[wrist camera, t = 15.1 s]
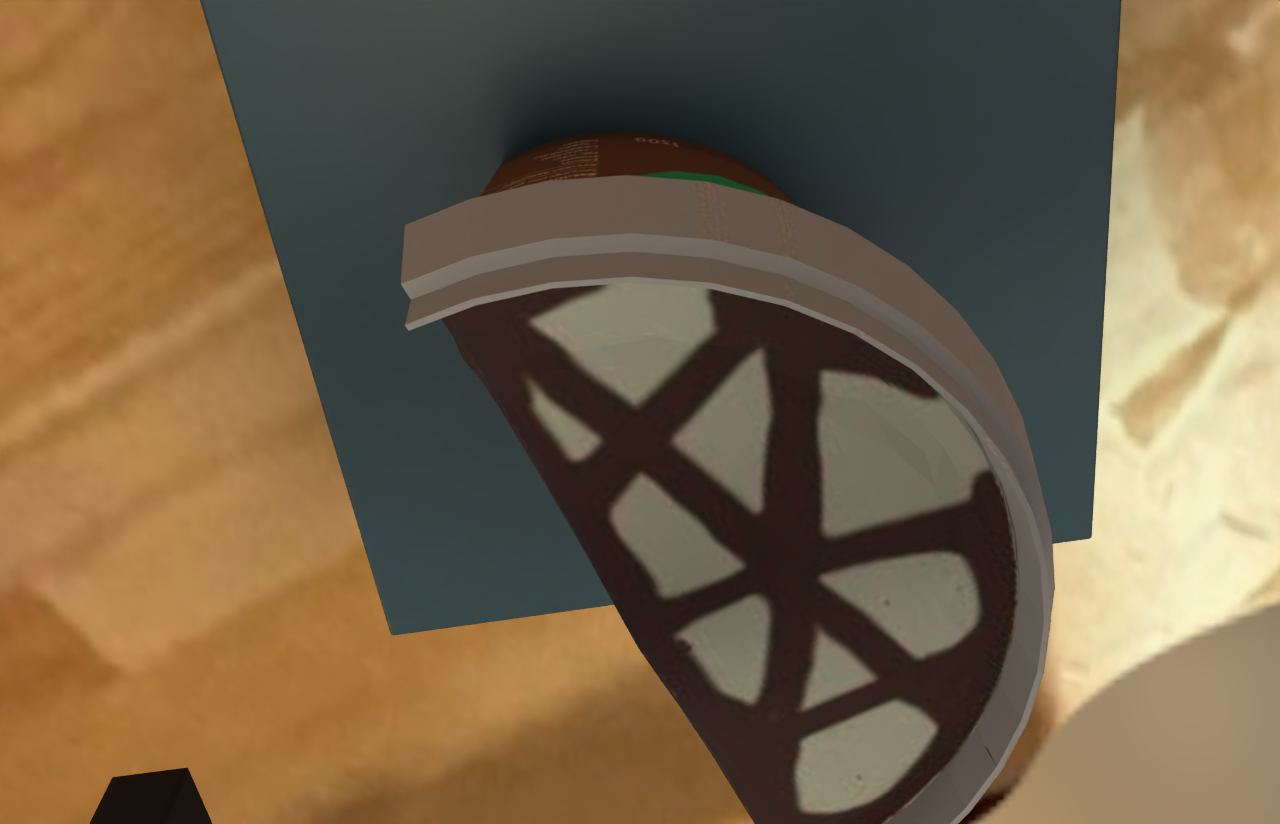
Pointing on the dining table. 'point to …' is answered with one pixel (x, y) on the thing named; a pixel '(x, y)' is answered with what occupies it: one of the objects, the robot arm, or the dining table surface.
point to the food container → (763, 466)
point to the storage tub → (688, 109)
